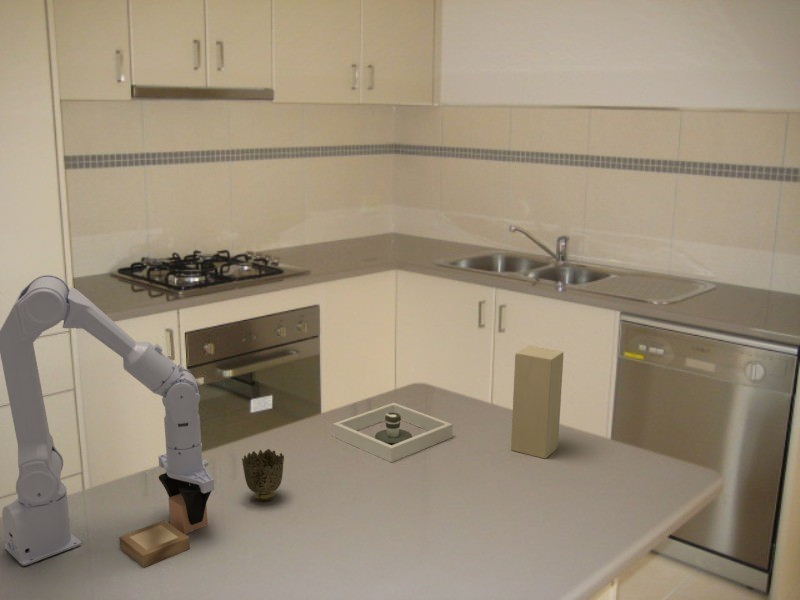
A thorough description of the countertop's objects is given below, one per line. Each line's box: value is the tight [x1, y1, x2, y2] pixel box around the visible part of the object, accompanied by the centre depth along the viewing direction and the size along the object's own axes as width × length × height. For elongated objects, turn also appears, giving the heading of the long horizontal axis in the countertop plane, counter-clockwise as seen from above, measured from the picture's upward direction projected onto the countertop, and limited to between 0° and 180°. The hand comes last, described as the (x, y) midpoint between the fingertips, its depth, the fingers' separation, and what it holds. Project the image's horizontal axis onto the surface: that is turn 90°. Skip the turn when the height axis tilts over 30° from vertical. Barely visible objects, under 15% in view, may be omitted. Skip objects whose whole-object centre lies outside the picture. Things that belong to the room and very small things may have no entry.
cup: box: [241, 448, 285, 502], centre depth 153 cm, size 8×7×8 cm
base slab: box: [118, 520, 191, 568], centre depth 137 cm, size 8×8×2 cm
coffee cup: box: [375, 413, 412, 444], centre depth 181 cm, size 12×12×5 cm
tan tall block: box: [510, 345, 564, 459], centre depth 173 cm, size 8×7×21 cm
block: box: [168, 494, 208, 535], centre depth 144 cm, size 4×4×5 cm
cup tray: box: [332, 402, 454, 463], centre depth 181 cm, size 18×18×3 cm
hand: (188, 517), depth 145 cm, fingers closed on block, 4 cm apart
